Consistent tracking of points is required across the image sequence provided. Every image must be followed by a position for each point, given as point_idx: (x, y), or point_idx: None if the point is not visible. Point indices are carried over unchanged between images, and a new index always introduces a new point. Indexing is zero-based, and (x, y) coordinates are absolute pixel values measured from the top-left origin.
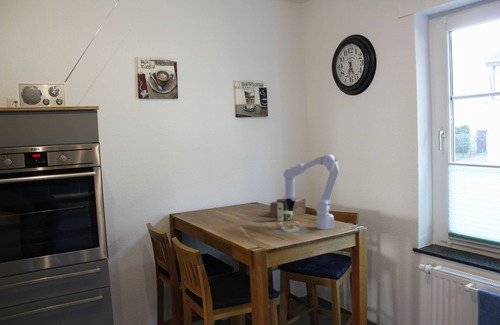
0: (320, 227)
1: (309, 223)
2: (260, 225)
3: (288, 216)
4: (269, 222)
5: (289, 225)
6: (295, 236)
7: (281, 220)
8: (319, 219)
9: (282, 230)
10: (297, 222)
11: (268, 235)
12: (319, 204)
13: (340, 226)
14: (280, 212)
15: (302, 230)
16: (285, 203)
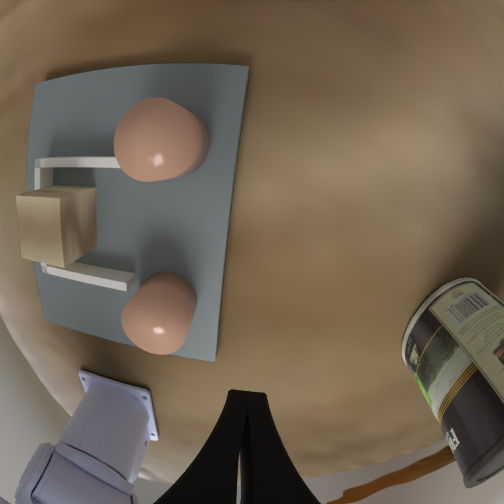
0: (88, 392)
1: (294, 421)
2: (441, 91)
3: (423, 364)
4: (485, 211)
5: (19, 201)
6: (10, 199)
7: (444, 298)
8: (73, 425)
9: (107, 150)
10: (125, 329)
11: (85, 30)
12: (18, 489)
13: (166, 462)
14: (487, 330)
15: (71, 293)
16: (491, 432)
